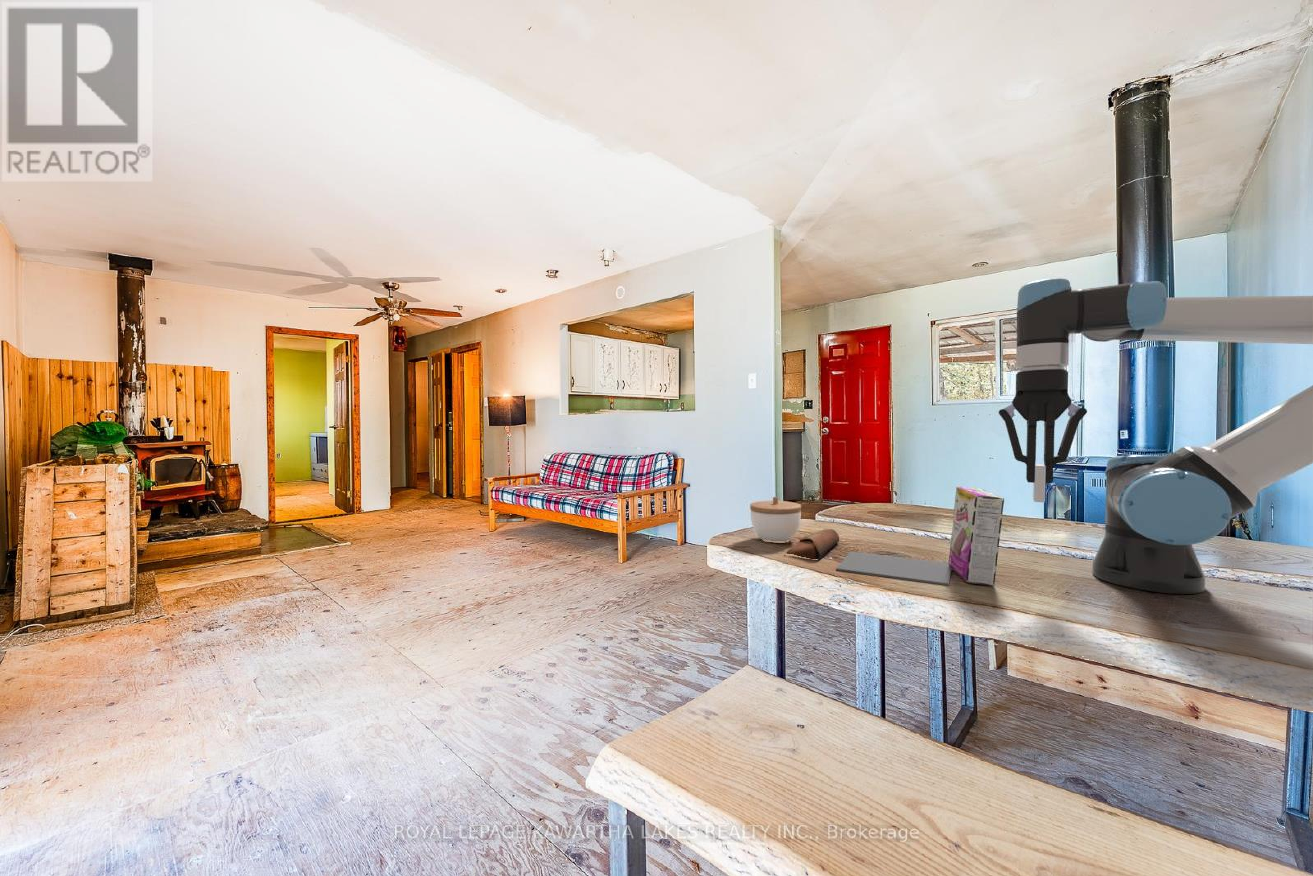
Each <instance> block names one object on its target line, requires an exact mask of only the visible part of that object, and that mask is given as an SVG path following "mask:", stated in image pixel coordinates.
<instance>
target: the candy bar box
mask: <svg viewBox="0 0 1313 876" xmlns="http://www.w3.org/2000/svg"><path fill="white" fill-rule="evenodd" d="M955 489H956V490H955V498H954V507H953V516H952V517H953V518H952V530H951V537H950V538H951V539H950V547H949V555H948V556H949V557H948V562H947V563H948V565H949V566H950V567H951V570H952V571H954V572H955V573H957V575H959V576H960V577H961V578H962V579H963V580H964V581H965V582H967V583H970V584H974V585H983V586H990V587H991V586H995V583H996V574H997V566H998V556H999V547H1000V541H1001V540H1000V539H1001V533H1002V532H1001V531H1002V521H1003V511H1004V504H1005V498H1004V497H1002V496H999V495H997V494H995V493H992V492H990V491H987V490H985V489H982V488H976V487H974V488H973V487H966V486H965V487H964V486H957V487H956V488H955Z"/></svg>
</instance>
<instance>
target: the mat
mask: <svg viewBox="0 0 1313 876" xmlns="http://www.w3.org/2000/svg"><path fill="white" fill-rule="evenodd" d="M948 563H949V562H945V561H944V562H943V561H937V560H936V561H935V560H929V559H928V560H927V559H921V558H920V559H919V558H910V557H903V556H902V557H901V556H892V555H883V554H876V553H869V552H868V553H867V552H857V551H850V552H849V553H848V554H847V555H846V557H845V558H844V559H842V561H841V562H840V563H839V564H838V565H837V567H836V568H835V570H836V571H839V572H848V573H854V574H861V575H869V576H875V577H884V578H890V579H898V580H906V581H912V582H920V583H928V584H934V585H943V586H948V587H949V586H950V583H951V582H950V581H951V573H952V568H951V567H950V566H949V565H948Z"/></svg>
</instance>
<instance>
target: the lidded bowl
mask: <svg viewBox="0 0 1313 876" xmlns="http://www.w3.org/2000/svg"><path fill="white" fill-rule="evenodd" d="M749 506H750V507H749V508H750V521H751V525H752V529H753V531H754V533H755V534H756V535H757V536H758V537H759V538H760V540H761V539H763V540H770V541H787V540H790V539H791V540H792V539H793V538H794V537H795V536H796V535H797V533H798V532H799V529H800V525H801V518H802V515H801V514H802V505H801V504H800V503H797V502H792V501H785V500H779V497H778V496H773V497H772V500H762V501H753V502H752V503H750V504H749ZM791 540H790V541H791Z"/></svg>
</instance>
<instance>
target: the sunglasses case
mask: <svg viewBox="0 0 1313 876" xmlns="http://www.w3.org/2000/svg"><path fill="white" fill-rule="evenodd" d="M839 542H840V536H839V534H838V532H837V531H836V530H834V529H833V528H830V529H829V528H828V529H822V530H818V531H816V532H813V533H810V534H809V535H808V534H807V535H806V536H803V537H801V538H800V539H799V540H798V542H797V543H796V544H794V545H792V546H791V547H789V549H788V550H787V551H786V552H785V553H787V554H794V555H797V556H801V557H806V558H810V559H818V561H819V560H820V559H822V558H823V557H824V555H825V554H826V553H828V551H829V550H830V549H832V548H833V547H834V546H835V545H837V544H838V543H839Z"/></svg>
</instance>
